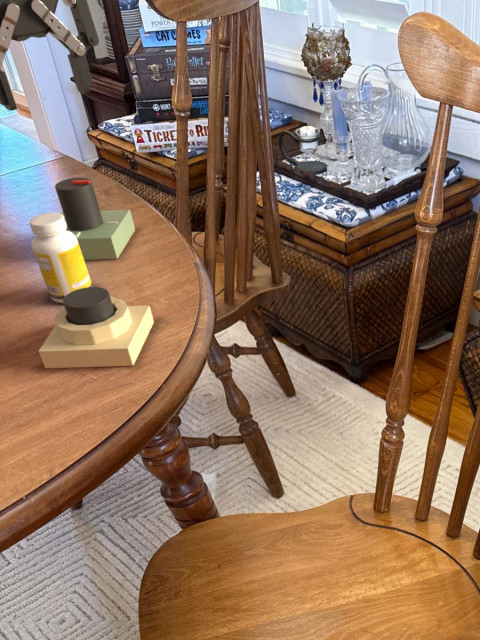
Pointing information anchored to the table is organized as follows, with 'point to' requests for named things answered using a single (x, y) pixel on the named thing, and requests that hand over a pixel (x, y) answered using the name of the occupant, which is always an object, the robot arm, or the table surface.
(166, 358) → the table surface
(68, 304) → the button
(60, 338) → the button base
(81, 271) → the supplement bottle
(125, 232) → the dial panel
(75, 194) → the dial
